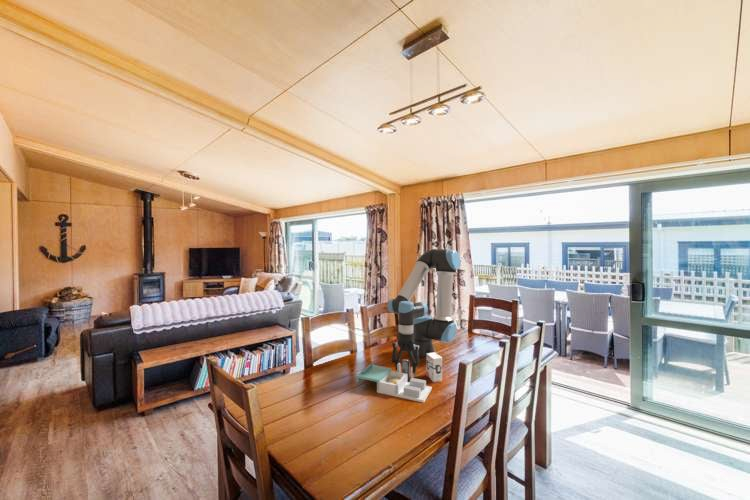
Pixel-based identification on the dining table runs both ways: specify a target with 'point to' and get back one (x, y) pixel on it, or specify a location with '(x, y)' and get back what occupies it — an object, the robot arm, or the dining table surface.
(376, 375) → the lid
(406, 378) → the housing
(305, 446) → the dining table surface
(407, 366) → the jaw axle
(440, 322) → the robot arm
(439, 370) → the ink box
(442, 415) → the dining table surface
